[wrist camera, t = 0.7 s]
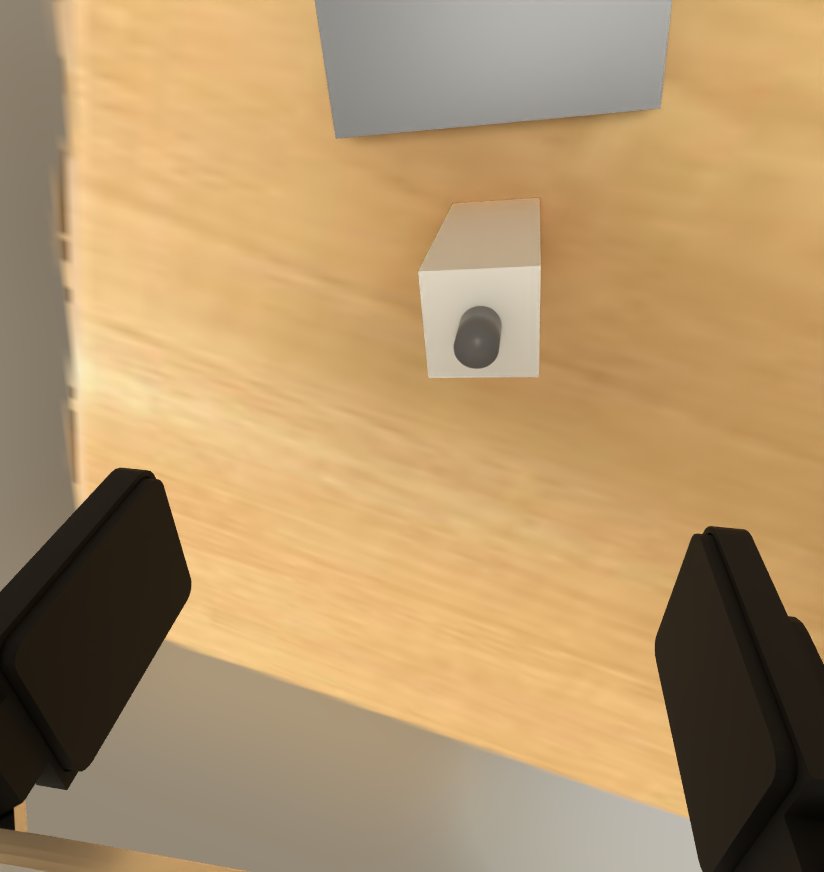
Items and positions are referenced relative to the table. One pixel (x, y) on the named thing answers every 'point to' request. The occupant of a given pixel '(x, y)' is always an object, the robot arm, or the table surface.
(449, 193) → the table surface
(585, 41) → the plate
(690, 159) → the table surface
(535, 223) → the charger plug
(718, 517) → the table surface
